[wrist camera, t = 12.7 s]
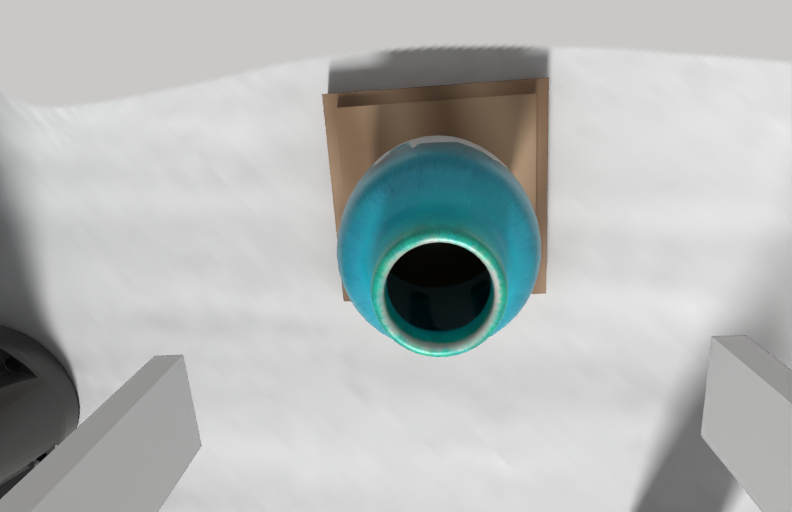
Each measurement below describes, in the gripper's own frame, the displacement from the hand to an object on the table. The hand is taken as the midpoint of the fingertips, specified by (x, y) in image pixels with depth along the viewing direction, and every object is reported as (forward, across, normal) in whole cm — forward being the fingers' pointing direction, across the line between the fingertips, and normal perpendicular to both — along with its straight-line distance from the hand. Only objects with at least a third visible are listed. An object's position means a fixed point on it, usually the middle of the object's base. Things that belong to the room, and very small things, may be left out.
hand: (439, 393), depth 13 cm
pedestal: (+29, 0, 0) cm, 29 cm away
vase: (+26, 0, 0) cm, 27 cm away
